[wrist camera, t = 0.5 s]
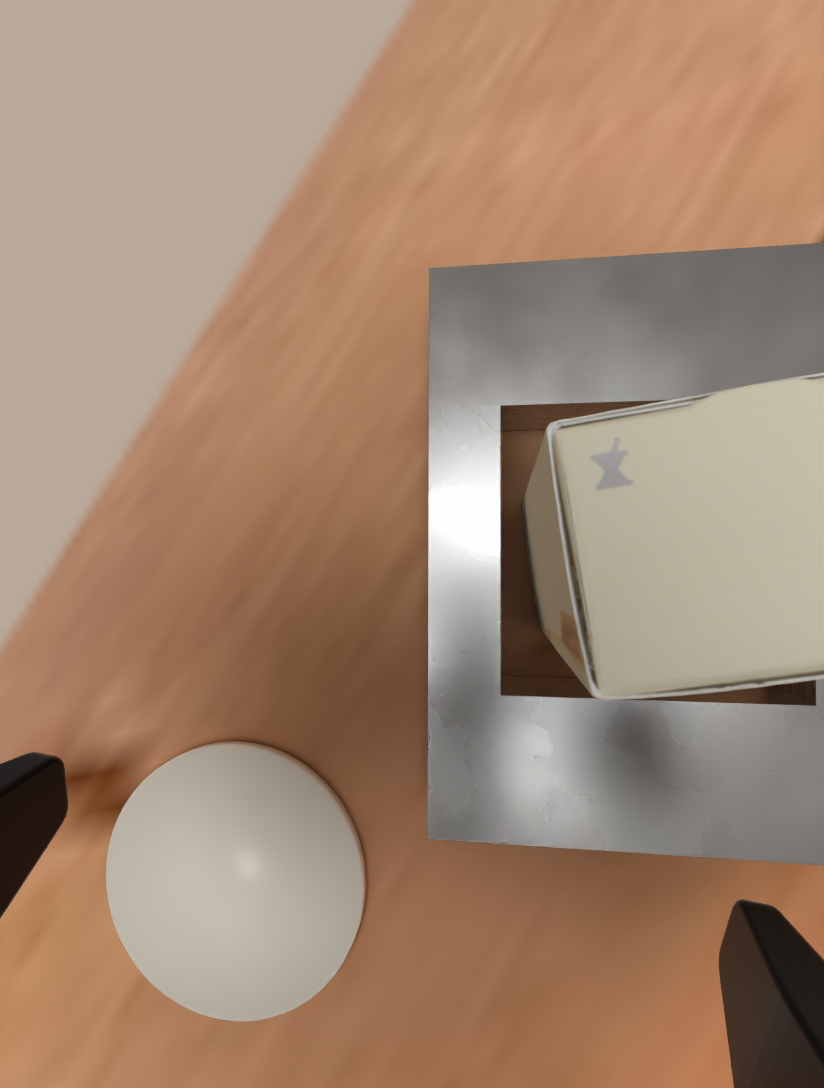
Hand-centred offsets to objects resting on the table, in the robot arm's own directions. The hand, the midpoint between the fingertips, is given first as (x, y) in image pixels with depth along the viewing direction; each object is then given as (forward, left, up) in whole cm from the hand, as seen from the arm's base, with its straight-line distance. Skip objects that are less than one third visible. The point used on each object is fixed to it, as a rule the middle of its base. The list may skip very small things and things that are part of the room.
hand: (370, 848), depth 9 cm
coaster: (-7, +7, -14) cm, 17 cm away
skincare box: (+4, -5, -14) cm, 15 cm away
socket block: (+4, -6, -14) cm, 15 cm away
